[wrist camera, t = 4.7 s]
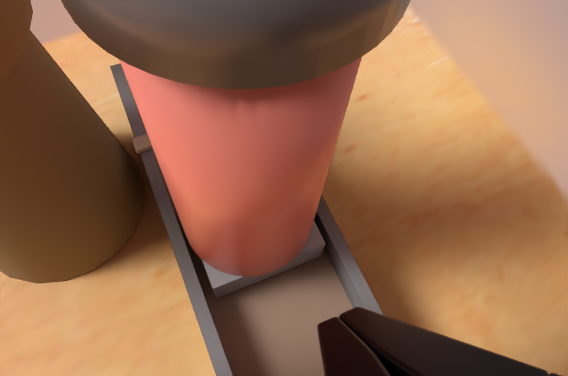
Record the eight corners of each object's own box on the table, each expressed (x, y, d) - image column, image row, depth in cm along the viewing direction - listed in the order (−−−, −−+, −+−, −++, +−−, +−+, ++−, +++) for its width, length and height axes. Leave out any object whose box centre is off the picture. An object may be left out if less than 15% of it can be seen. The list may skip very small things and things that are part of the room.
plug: (345, 265, 15) (553, -92, 4) (203, 325, 14) (45, 34, 3) (285, 148, 17) (335, -297, 6) (157, 192, 16) (-36, -257, 5)
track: (434, 457, 14) (467, 464, 12) (274, 545, 13) (278, 571, 10) (241, 68, 20) (239, 26, 18) (122, 103, 19) (105, 63, 17)
